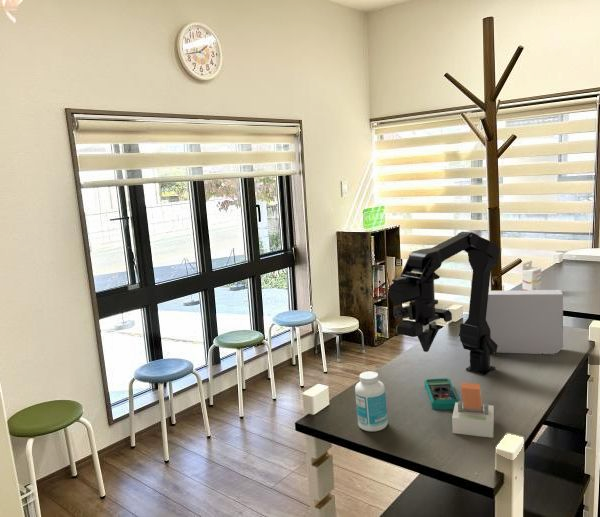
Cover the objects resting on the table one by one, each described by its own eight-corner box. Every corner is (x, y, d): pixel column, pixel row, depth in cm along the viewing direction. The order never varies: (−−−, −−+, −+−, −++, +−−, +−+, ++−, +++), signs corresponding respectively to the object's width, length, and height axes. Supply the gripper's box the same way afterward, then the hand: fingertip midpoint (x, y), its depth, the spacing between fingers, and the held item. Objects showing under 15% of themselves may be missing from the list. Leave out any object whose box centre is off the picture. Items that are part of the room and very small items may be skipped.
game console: (472, 345, 174) (470, 290, 170) (560, 348, 164) (560, 289, 161) (472, 352, 168) (470, 294, 165) (563, 355, 159) (562, 294, 156)
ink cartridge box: (533, 296, 225) (532, 264, 222) (522, 295, 229) (521, 263, 226) (541, 292, 230) (541, 261, 228) (531, 291, 234) (530, 260, 232)
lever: (463, 405, 123) (460, 382, 116) (483, 407, 121) (480, 383, 114) (463, 411, 122) (460, 388, 115) (482, 413, 120) (480, 389, 113)
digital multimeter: (432, 412, 132) (432, 401, 131) (424, 387, 146) (423, 377, 146) (461, 411, 131) (461, 400, 130) (450, 386, 145) (449, 376, 145)
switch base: (455, 417, 127) (455, 394, 126) (494, 420, 124) (493, 398, 122) (452, 433, 120) (451, 409, 119) (493, 437, 116) (492, 413, 115)
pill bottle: (389, 419, 129) (386, 369, 127) (385, 434, 122) (381, 381, 120) (361, 417, 131) (357, 368, 129) (355, 431, 125) (351, 380, 122)
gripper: (418, 286, 150) (420, 336, 152) (379, 301, 137) (382, 355, 140) (452, 291, 141) (453, 344, 144) (413, 306, 129) (415, 364, 132)
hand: (426, 351), depth 140 cm, fingers closed
